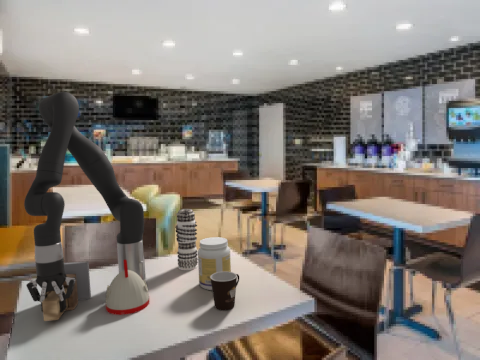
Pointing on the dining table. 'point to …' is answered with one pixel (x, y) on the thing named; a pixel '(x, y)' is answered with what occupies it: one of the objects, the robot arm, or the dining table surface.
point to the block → (74, 297)
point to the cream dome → (126, 293)
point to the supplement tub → (212, 259)
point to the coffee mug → (224, 289)
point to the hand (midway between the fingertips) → (54, 311)
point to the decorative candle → (186, 239)
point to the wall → (80, 278)
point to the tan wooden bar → (53, 306)
